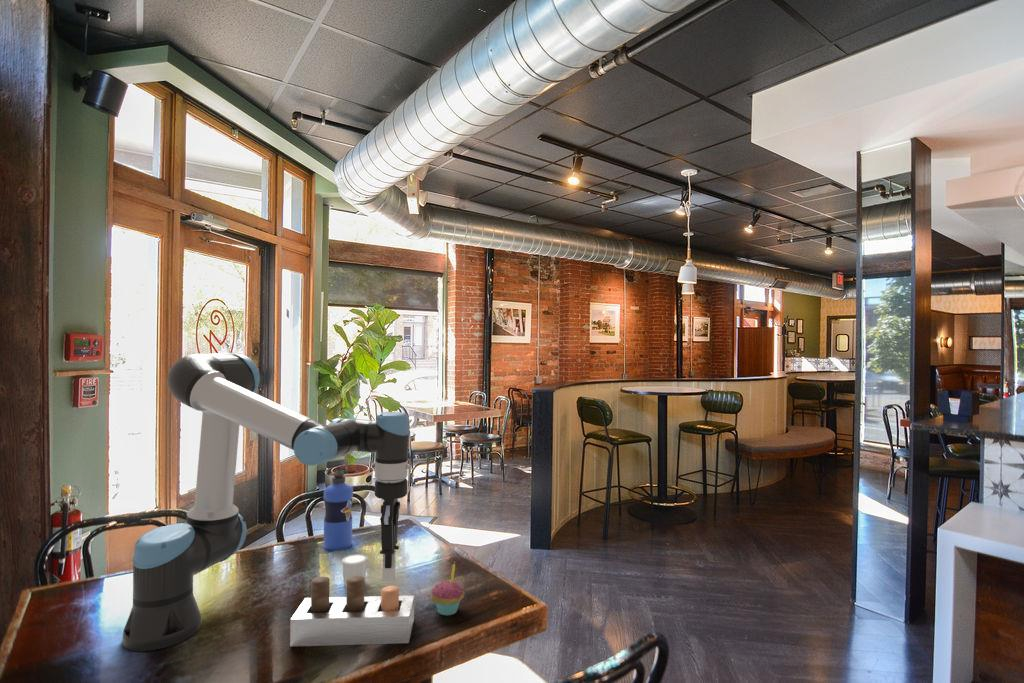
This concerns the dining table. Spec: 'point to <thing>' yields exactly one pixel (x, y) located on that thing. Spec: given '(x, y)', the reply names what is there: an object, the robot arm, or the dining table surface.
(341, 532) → the water bottle
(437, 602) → the cupcake
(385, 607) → the plug terracotta
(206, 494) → the robot arm
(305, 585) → the dining table surface
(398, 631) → the jig
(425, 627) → the dining table surface
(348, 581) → the plug mid
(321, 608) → the plug near
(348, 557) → the white cup
